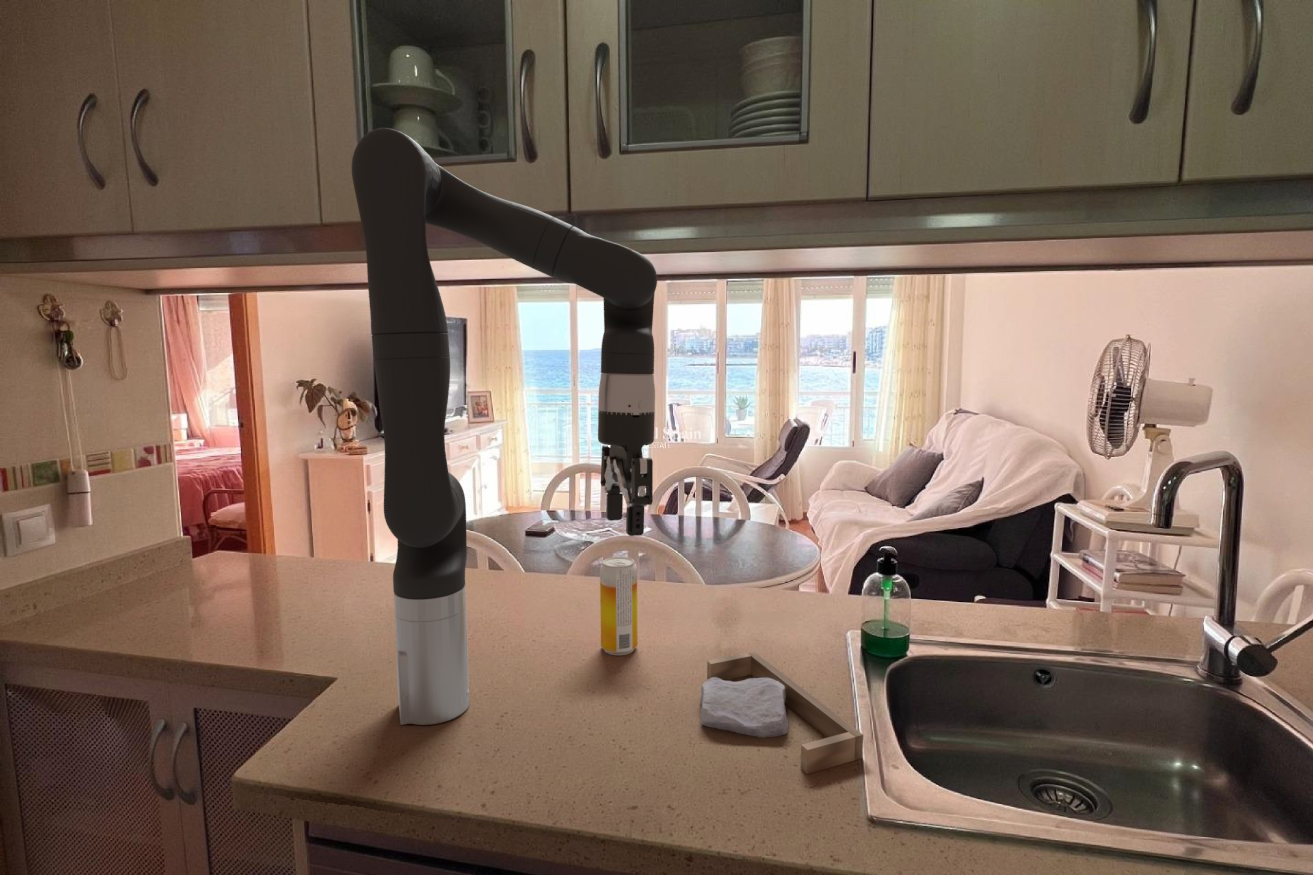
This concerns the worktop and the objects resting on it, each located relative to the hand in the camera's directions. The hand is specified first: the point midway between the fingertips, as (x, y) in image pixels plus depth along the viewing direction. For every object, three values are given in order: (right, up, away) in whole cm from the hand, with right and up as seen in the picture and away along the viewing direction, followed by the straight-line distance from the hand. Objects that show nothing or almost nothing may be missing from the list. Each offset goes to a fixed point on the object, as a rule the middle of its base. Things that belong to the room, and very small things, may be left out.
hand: (624, 527), depth 91 cm
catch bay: (+21, -25, 0) cm, 33 cm away
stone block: (+16, -26, -1) cm, 31 cm away
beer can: (-2, -23, +21) cm, 31 cm away
